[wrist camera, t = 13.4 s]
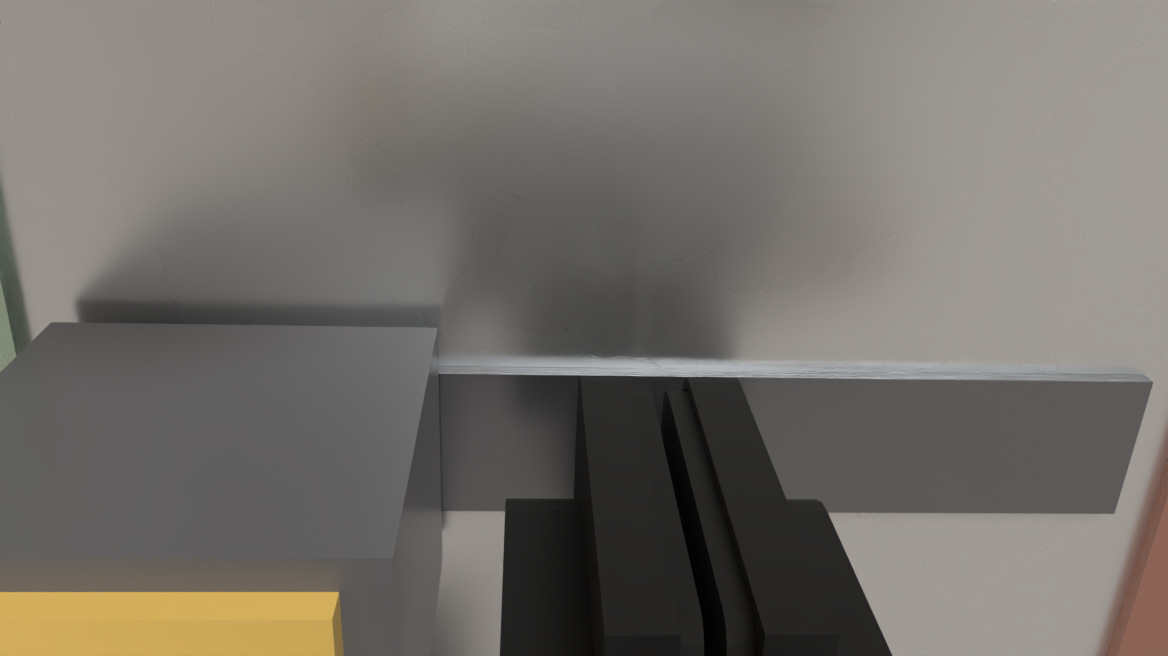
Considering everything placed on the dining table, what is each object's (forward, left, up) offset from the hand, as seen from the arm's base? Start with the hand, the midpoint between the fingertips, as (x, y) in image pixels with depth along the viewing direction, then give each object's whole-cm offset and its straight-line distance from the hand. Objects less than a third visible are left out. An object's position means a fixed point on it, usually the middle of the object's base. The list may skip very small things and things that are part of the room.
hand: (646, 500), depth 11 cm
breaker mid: (0, -4, -1) cm, 4 cm away
